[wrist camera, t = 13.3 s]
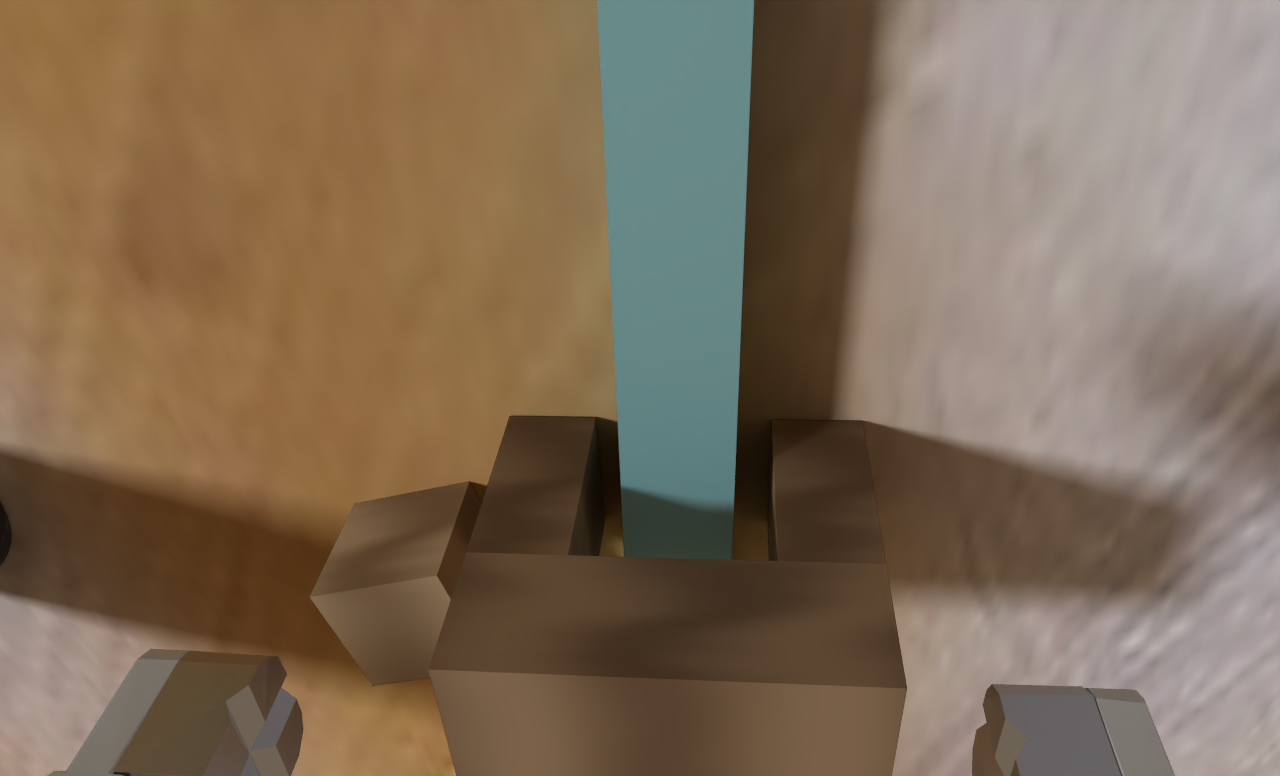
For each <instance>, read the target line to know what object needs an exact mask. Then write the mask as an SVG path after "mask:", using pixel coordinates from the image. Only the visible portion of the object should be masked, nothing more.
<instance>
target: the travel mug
mask: <svg viewBox="0 0 1280 776" xmlns="http://www.w3.org/2000/svg"><path fill="white" fill-rule="evenodd" d="M10 544H11V531H10V525H9V522H8V519H7V516H6V514H5V512H4V510H3V508H2V506H1V504H0V566H1V565H2V563H3V562H4V560H5V558H6V556H7V554H8V552H9V548H10Z"/></svg>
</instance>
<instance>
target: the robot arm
mask: <svg viewBox="0 0 1280 776" xmlns="http://www.w3.org/2000/svg"><path fill="white" fill-rule="evenodd" d="M286 675H287V674H286V672H285V670H284V668H283V666H282V663H281V661H280V659H279V657H277V656H262V655H246V654H231V653H215V652H200V651H185V650H164V649H150V650H149V651H147V652H146V653H145V654H144V655H142V656H141V657H140V658H138V659H137V661H136V662H135V663H134V665H133V667H132V668H131V670H130V671H129V673H128V675H127V676H126V678H125V679H124V681H123V682H122V684H121V686H120V687H119V689H118V690H117V692H116V693H115V695H114V697H113V698H112V700H111V701H110V703H109V705H108V706H107V708H106V709H105V711H104V712H103V714H102V716H101V717H100V719H99V720H98V722H97V723H96V725H95V727H94V728H93V730H92V731H91V733H90V734H89V736H88V738H87V739H86V741H85V742H84V744H83V746H82V747H81V749H80V750H79V752H78V753H77V755H76V757H75V758H74V760H73V761H72V763H71V764H70V766H69V768H68V769H67V771H53V772H52V773H50V774H49V775H48V776H291V774H292V772H293V769H294V767H295V764H296V762H297V759H298V757H299V752H300V746H301V740H302V734H303V722H302V712H301V709H300V707H299V704H298V701H297V699H296V698H295V697H294V696H292V695H291V694H289V693H288V692H287V691H285V690H284V689H283V688H281V686H282V684H283V682H284V679H285V677H286ZM983 708H984V712H985V716H986V721H987V723H986V724H984V725H983V726H981V727H980V728H978V729H977V730H976V735H975V740H974V745H973V760H972V775H973V776H1175V774H1174V772H1173V769H1172V767H1171V764H1170V762H1169V759H1168V757H1167V754H1166V752H1165V749H1164V747H1163V744H1162V742H1161V739H1160V737H1159V734H1158V732H1157V730H1156V727H1155V725H1154V722H1153V720H1152V717H1151V715H1150V712H1149V710H1148V707H1147V705H1146V702H1145V700H1144V698H1143V697H1142V696H1141V695H1140V694H1139V693H1138V692H1137V691H1136V690H1131V689H1101V688H1083V687H1081V686H1044V685H1006V684H992V685H991V686H990V687H989V688H988V689H987V691H986V695H985V698H984V702H983Z"/></svg>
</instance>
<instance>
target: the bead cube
mask: <svg viewBox="0 0 1280 776" xmlns="http://www.w3.org/2000/svg"><path fill="white" fill-rule="evenodd" d="M480 507H481V502H480V500H479V498H478V497H477V495H476V493H475V491H474V489H473V487H472V485H471V483H470V481H468V482H463V483H458V484H453V485H448V486H442V487H437V488H432V489H427V490H422V491H417V492H412V493H406V494H401V495H396V496H391V497H386V498H381V499H375V500H370V501H365V502H360V503H355V504H354V505H353V507H352V509H351V511H350V513H349V516H348V518H347V520H346V522H345V524H344V526H343V528H342V530H341V532H340V534H339V536H338V539H337V541H336V543H335V545H334V547H333V549H332V551H331V553H330V555H329V557H328V559H327V561H326V564H325V566H324V568H323V570H322V572H321V574H320V576H319V578H318V580H317V582H316V584H315V587H314V589H313V591H312V593H311V595H310V599H311V600H312V601H313V603H314V604H315V606H316V607H317V608H318V610H319V611H320V613H321V614H322V615H323V617H324V618H325V620H326V621H327V622H328V624H329V625H330V627H331V628H332V630H333V631H334V632H335V634H336V635H337V637H338V638H339V639H340V641H341V642H342V644H343V645H344V646H345V648H346V649H347V651H348V652H349V653H350V655H351V656H352V658H353V659H354V660H355V662H356V663H357V665H358V666H359V667H360V669H361V670H362V672H363V673H364V675H365V676H366V677H367V679H368V680H369V682H370V683H371V684H372V686H376V685H383V684H390V683H397V682H404V681H411V680H418V679H425V678H430V674H429V670H428V669H429V666H430V663H431V660H432V657H433V654H434V650H435V647H436V644H437V641H438V638H439V635H440V632H441V629H442V625H443V622H444V619H445V616H446V613H447V610H448V607H449V604H450V601H451V597H452V594H453V591H454V588H455V585H456V582H457V579H458V576H459V572H460V569H461V566H462V563H463V560H464V557H465V554H466V551H467V548H468V544H469V541H470V538H471V535H472V532H473V529H474V526H475V523H476V519H477V516H478V513H479V510H480Z"/></svg>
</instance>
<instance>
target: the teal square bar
mask: <svg viewBox="0 0 1280 776" xmlns="http://www.w3.org/2000/svg"><path fill="white" fill-rule="evenodd" d="M597 9H598V30H599V50H600V71H601V91H602V112H603V132H604V153H605V173H606V194H607V214H608V235H609V255H610V276H611V296H612V316H613V337H614V357H615V378H616V398H617V419H618V439H619V460H620V480H621V501H622V521H623V542H624V557H650V558H686V559H722V560H732V540H733V515H734V490H735V465H736V440H737V415H738V390H739V365H740V340H741V315H742V290H743V265H744V240H745V215H746V189H747V164H748V139H749V114H750V89H751V64H752V39H753V14H754V0H597Z"/></svg>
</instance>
